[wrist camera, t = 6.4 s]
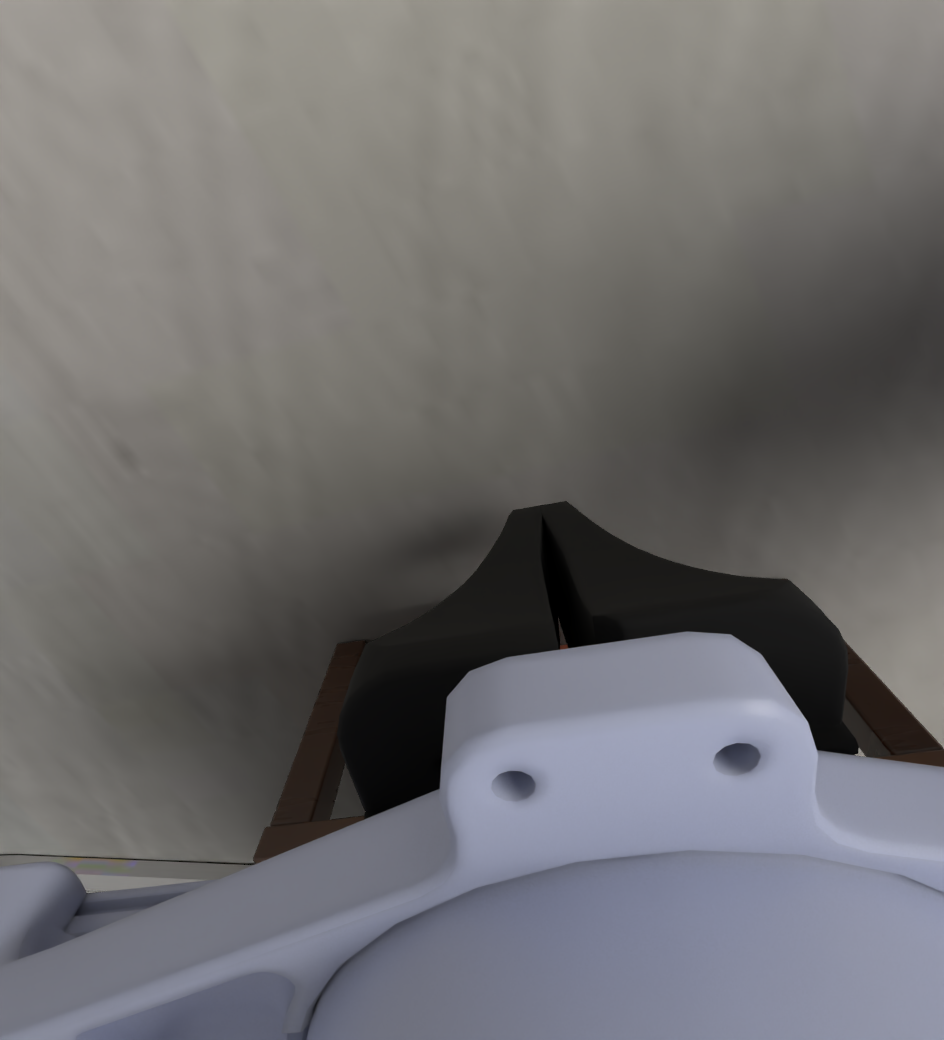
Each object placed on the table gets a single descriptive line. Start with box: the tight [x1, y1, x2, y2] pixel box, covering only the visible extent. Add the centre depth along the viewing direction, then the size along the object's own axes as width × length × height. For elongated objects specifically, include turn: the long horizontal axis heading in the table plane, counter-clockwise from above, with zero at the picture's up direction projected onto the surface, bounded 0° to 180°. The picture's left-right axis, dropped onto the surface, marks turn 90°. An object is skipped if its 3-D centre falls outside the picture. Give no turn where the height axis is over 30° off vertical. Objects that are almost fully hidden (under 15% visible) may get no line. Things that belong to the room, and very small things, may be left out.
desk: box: [253, 579, 944, 864], centre depth 15 cm, size 13×9×7 cm
